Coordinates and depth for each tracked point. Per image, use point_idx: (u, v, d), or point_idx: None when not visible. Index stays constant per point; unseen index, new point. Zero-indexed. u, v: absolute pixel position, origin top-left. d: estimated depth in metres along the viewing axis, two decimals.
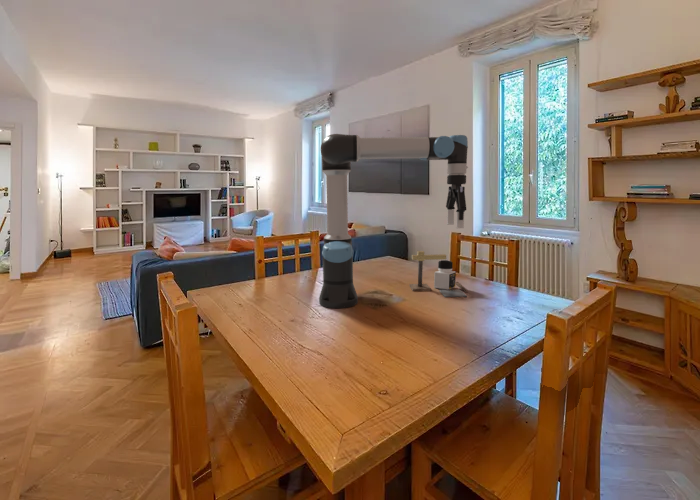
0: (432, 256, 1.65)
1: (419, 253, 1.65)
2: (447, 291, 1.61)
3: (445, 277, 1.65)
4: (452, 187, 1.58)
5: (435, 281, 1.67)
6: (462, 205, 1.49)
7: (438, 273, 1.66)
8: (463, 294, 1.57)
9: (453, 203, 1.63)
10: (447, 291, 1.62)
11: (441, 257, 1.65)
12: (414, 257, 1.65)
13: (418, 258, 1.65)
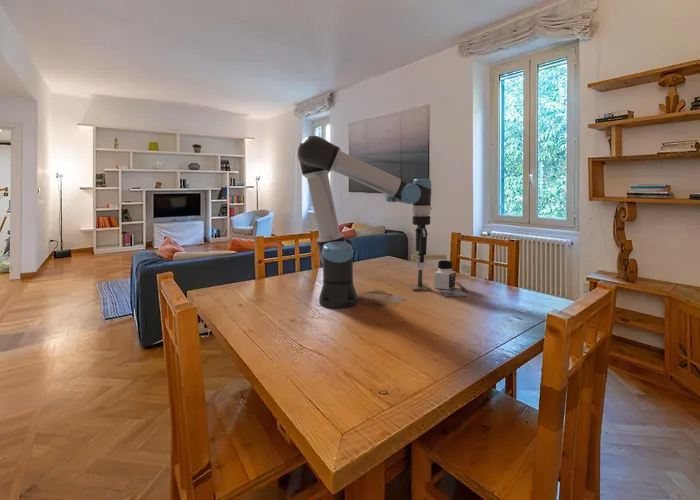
0: (432, 256, 1.65)
1: None
2: (447, 291, 1.61)
3: (445, 277, 1.65)
4: (417, 225, 1.66)
5: (435, 281, 1.67)
6: (422, 250, 1.61)
7: (438, 273, 1.66)
8: (463, 294, 1.57)
9: None
10: (447, 291, 1.62)
11: (441, 257, 1.65)
12: (414, 257, 1.65)
13: None
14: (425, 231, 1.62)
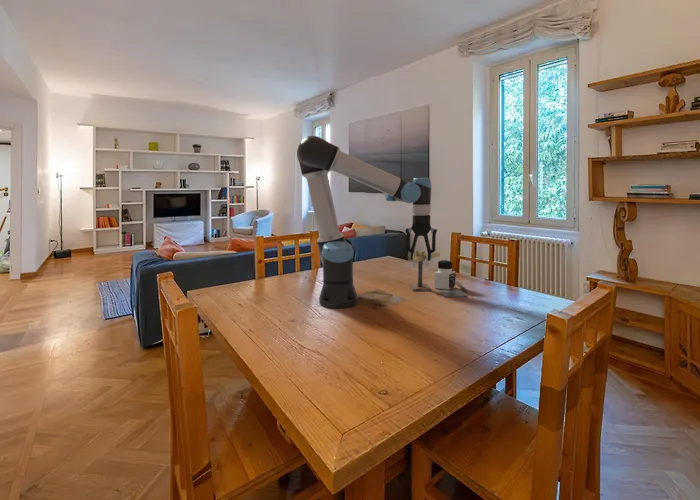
0: None
1: (421, 253, 1.65)
2: (447, 291, 1.61)
3: (445, 277, 1.65)
4: (416, 225, 1.64)
5: (435, 281, 1.67)
6: (435, 247, 1.63)
7: (438, 273, 1.66)
8: (463, 294, 1.57)
9: (415, 244, 1.67)
10: (447, 291, 1.62)
11: (436, 255, 1.70)
12: (417, 258, 1.64)
13: (420, 258, 1.65)
14: None
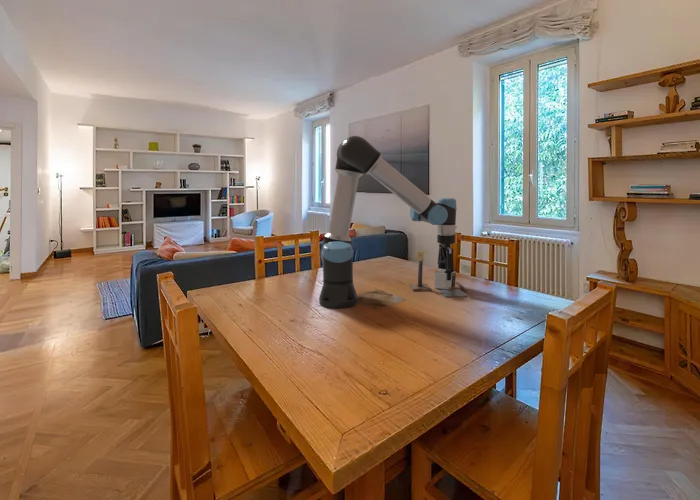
0: (424, 254, 1.71)
1: (423, 253, 1.65)
2: (447, 291, 1.61)
3: None
4: (442, 244, 1.68)
5: (435, 281, 1.67)
6: (450, 267, 1.59)
7: (438, 273, 1.66)
8: (463, 294, 1.57)
9: None
10: (447, 291, 1.62)
11: (425, 253, 1.74)
12: (422, 258, 1.63)
13: (423, 258, 1.65)
14: None
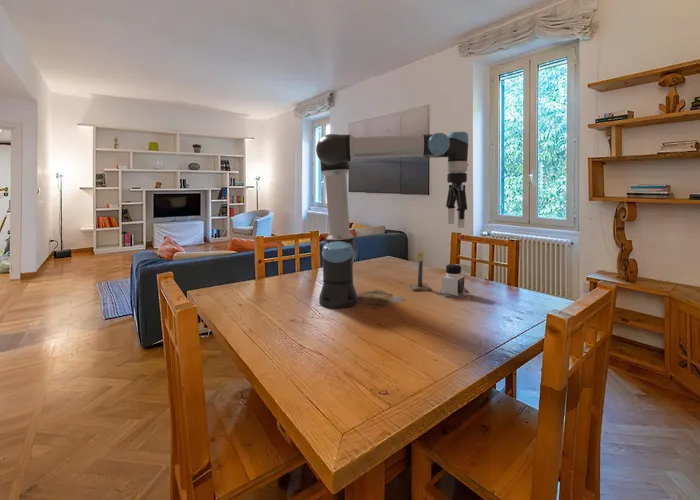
0: (424, 254, 1.71)
1: (423, 253, 1.65)
2: None
3: (453, 282, 1.55)
4: (452, 185, 1.54)
5: (443, 286, 1.58)
6: (463, 204, 1.44)
7: (446, 278, 1.57)
8: (463, 294, 1.57)
9: (453, 202, 1.59)
10: None
11: (425, 253, 1.74)
12: (422, 258, 1.63)
13: (423, 258, 1.65)
14: None
